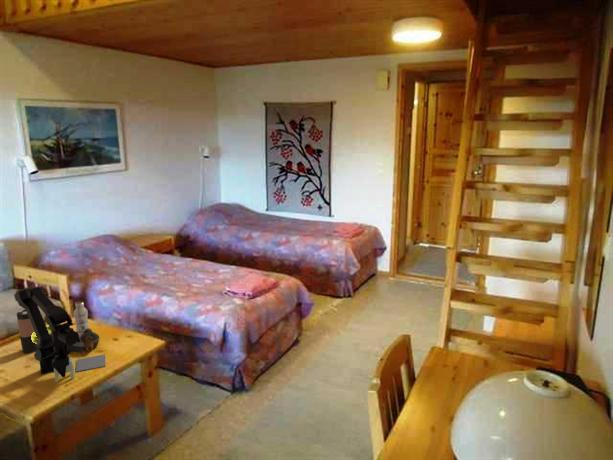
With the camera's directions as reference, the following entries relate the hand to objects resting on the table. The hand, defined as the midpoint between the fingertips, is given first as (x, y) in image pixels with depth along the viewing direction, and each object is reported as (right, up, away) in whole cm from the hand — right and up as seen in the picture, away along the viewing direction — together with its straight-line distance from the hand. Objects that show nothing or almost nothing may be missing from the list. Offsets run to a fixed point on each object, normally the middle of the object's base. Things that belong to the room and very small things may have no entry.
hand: (64, 372), depth 193 cm
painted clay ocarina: (-3, +3, +28) cm, 29 cm away
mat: (+5, 0, +13) cm, 14 cm away
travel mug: (-30, +2, +26) cm, 40 cm away
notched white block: (0, -2, 0) cm, 2 cm away
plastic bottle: (-10, +5, +37) cm, 39 cm away
